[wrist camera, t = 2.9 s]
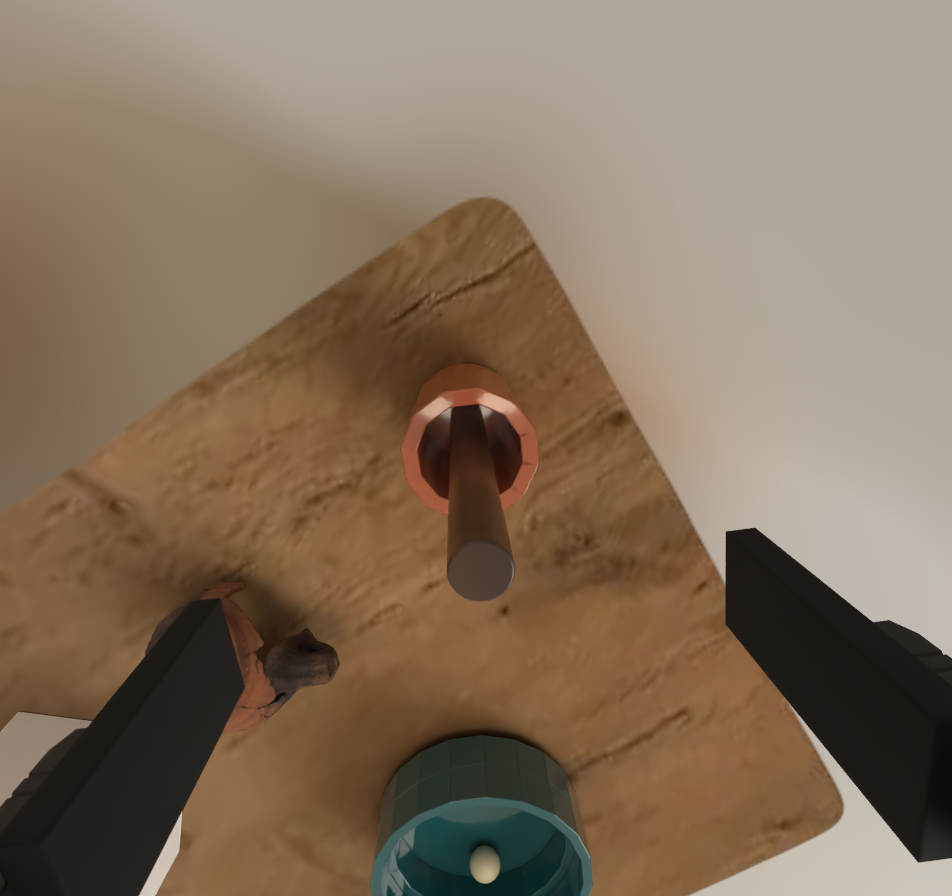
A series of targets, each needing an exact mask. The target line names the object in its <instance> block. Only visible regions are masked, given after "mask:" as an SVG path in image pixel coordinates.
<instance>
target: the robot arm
mask: <svg viewBox="0 0 952 896" xmlns="http://www.w3.org/2000/svg"><path fill="white" fill-rule="evenodd" d="M726 625H727V626H728V628H729V629H730V630H731V631H732V633H733V634H734V635H735V636H736V638H737V639H738V640H739V641H740V643H741V644H742V645H743V646H744V648H745V649H746V650H747V651H748V652H749V654H750V655H751V656H752V657H753V659H754V660H755V661H756V662H757V664H758V665H759V666H760V667H761V669H762V670H763V671H764V672H765V673H766V675H767V676H768V677H769V678H770V680H771V681H772V682H773V683H774V685H775V686H776V687H777V688H778V690H779V691H780V692H781V693H782V695H783V696H784V697H785V698H786V699H787V701H788V702H789V703H790V704H791V706H792V707H793V708H794V709H795V711H796V712H797V713H798V714H799V716H800V717H801V718H802V719H803V721H804V722H805V723H806V724H807V725H808V727H809V728H810V729H811V730H812V732H813V733H814V734H815V735H816V736H817V738H818V739H819V740H820V741H821V743H822V744H823V745H824V747H825V748H826V749H827V750H828V751H829V752H830V754H831V755H832V756H833V758H834V759H835V760H836V761H837V763H838V764H839V765H840V766H841V767H842V768H843V770H844V771H845V772H846V773H847V775H848V776H849V777H850V779H851V780H852V781H853V782H854V784H855V785H856V786H857V787H858V789H859V790H860V791H861V792H862V794H863V795H864V796H865V797H866V798H867V800H868V801H869V802H870V803H871V805H872V806H873V807H874V808H875V810H876V811H877V812H878V813H879V815H880V816H881V817H882V818H883V820H884V821H885V822H886V823H887V824H888V826H889V827H890V828H891V829H892V831H893V832H894V833H895V834H896V835H897V837H898V838H899V839H900V841H901V842H902V843H903V844H904V846H905V847H906V848H907V849H908V850H909V852H910V853H911V854H912V855H913V857H914V858H915V859H916V860H917V862H926V861H933V860H941V859H948V858H952V658H950V657H949V656H948V655H943V653H942V651H941V650H940V649H938V648H937V647H936V646H934V645H933V644H932V643H930V642H929V641H928V640H926V639H925V638H924V637H922V636H921V635H920V634H918V633H916V632H914V631H912V630H909V629H907V628H905V627H903V626H901V625H898V624H896V623H894V622H892V621H890V620H887V621H880V622H872V621H871V620H869V619H868V618H867V617H866V616H864V615H863V614H862V613H861V612H860V611H858V610H857V609H856V608H855V607H853V606H852V605H851V604H850V603H848V602H847V601H846V600H845V599H843V598H842V597H840V595H838V594H837V593H836V592H835V591H833V590H832V589H831V588H829V587H828V586H827V585H826V584H824V583H823V582H822V581H821V580H820V579H818V578H817V577H816V576H815V575H813V574H812V573H811V572H810V571H808V570H807V569H806V568H805V567H803V566H802V565H801V564H800V563H798V562H797V561H796V560H795V559H793V558H792V557H791V556H790V555H788V554H787V553H786V552H785V551H783V550H782V549H781V548H780V547H778V546H777V545H776V544H775V543H773V542H772V541H771V540H770V539H768V538H767V537H766V536H765V535H763V534H762V533H761V532H760V531H758V530H757V529H756V528H751V529H742V530H735V531H727V532H726ZM244 689H245V684H244V681H243V677H242V674H241V670H240V666H239V663H238V659H237V656H236V652H235V649H234V645H233V642H232V638H231V634H230V631H229V627H228V624H227V620H226V617H225V613H224V609H223V606H222V602H221V599H220V598H212V599H204V600H197V601H190V602H189V604H188V605H187V606H186V607H185V609H184V610H183V611H182V612H181V613H180V615H179V616H178V617H177V618H176V620H175V621H174V622H173V623H172V624H171V626H170V627H169V628H168V629H167V631H166V632H165V633H164V634H163V635H162V637H161V638H160V639H159V640H158V642H157V643H156V644H155V645H154V646H153V648H152V649H151V650H150V651H149V653H148V654H147V655H146V656H145V657H144V659H143V660H142V661H141V662H140V663H139V665H138V666H137V667H136V668H135V670H134V671H133V672H132V673H131V674H130V676H129V677H128V678H127V679H126V681H125V682H124V683H123V684H122V685H121V687H120V688H119V689H118V690H117V692H116V693H115V694H114V695H113V696H112V698H111V699H110V700H109V701H108V703H107V704H106V705H105V706H104V707H103V709H102V710H101V711H100V712H99V714H98V715H97V716H96V717H95V718H94V720H93V721H92V722H91V723H90V725H89V726H88V727H87V728H80V729H75V730H74V731H73V732H71V733H70V734H69V735H68V736H66V737H65V738H64V739H63V740H61V741H60V742H59V743H57V744H56V745H55V746H54V747H52V748H51V749H50V750H48V752H47V753H46V754H45V755H44V756H43V757H42V759H41V760H40V761H39V762H38V763H37V764H36V766H35V767H34V768H33V769H32V770H31V771H30V773H29V776H28V778H24V780H23V781H22V782H21V783H20V784H19V785H18V786H17V788H16V789H15V790H14V791H13V792H12V796H11V798H7V799H6V800H5V802H4V803H3V804H2V805H1V806H0V896H139V895H140V893H141V891H142V889H143V887H144V885H145V883H146V881H147V879H148V877H149V875H150V873H151V871H152V869H153V868H154V866H155V864H156V862H157V860H158V858H159V856H160V854H161V852H162V850H163V848H164V846H165V844H166V842H167V840H168V838H169V836H170V834H171V832H172V830H173V828H174V826H175V824H176V822H177V820H178V818H179V816H180V814H181V812H182V811H183V809H184V807H185V805H186V803H187V801H188V799H189V797H190V795H191V793H192V791H193V789H194V787H195V785H196V783H197V781H198V779H199V777H200V775H201V773H202V771H203V769H204V767H205V765H206V763H207V761H208V759H209V757H210V756H211V754H212V752H213V750H214V748H215V746H216V744H217V742H218V740H219V738H220V736H221V734H222V732H223V730H224V728H225V726H226V724H227V722H228V720H229V718H230V716H231V714H232V712H233V710H234V708H235V706H236V704H237V702H238V700H239V699H240V697H241V695H242V693H243V691H244Z"/></svg>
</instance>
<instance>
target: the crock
mask: <svg viewBox="0 0 952 896" xmlns="http://www.w3.org/2000/svg"><path fill="white" fill-rule="evenodd" d="M474 404H475V405H477V406H478V407H479V408H480V410H481V412H482V416H483V420H484V425H485V429H486V434H487V439H488V443H489V448H490V453H491V457H492V462H493V467H494V471H495V476H496V480H497V485H498V490H499V494H500V499H501V504H502V508H503V510H504V509H506V508H507V507H508V506H510V505H511V504H513V503H514V502H516V501H517V500H518V499H520V498H521V497H523V495H524V494H525V492H526V490H527V488H528V486H529V484H530V482H531V480H532V478H533V476H534V474H535V472H536V469H537V467H538V464H539V460H538V450H537V439H536V431H535V428H534V427H533V425H532V423H531V421H530V419H529V418H528V416H527V414H526V412H525V410H524V409H523V407H522V405H521V403H520V401H519V400H518V398H517V396H516V395H515V393H514V392H513V391H512V389H511V388H510V386H509V385H508V384H507V382H506V381H505V380H504V378H503V377H502V376H501V375H500V374H498V373H496V372H494V371H493V370H491V369H489V368H486V367H483V366H481V365H477V364H457V365H452V366H449V367H446V368H444V369H442V370H440V371H439V372H437V373H436V374H434V375H433V376H432V377H431V378H430V379H429V380H428V381H427V382H425V383H424V384H423V386H422V388H421V390H420V393H419V395H418V398H417V400H416V403H415V405H414V408H413V410H412V413H411V416H410V419H409V422H408V425H407V428H406V432H405V435H404V438H403V441H402V444H401V454H402V460H403V466H404V472H405V478H406V481H407V483H408V484H409V486H410V487H411V488H412V489H413V490H414V491H415V493H416V494H417V495H418V496H419V497H420V499H421V500H422V501H423V502H424V503H425V505H426V506H427V507H429V508H431V509H433V510H436V511H438V512H441V513H444V514H446V515H448V504H449V464H450V425H451V413H452V410H453V409H454V408H455V407H458V406H466V405H474Z"/></svg>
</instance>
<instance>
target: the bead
mask: <svg viewBox="0 0 952 896" xmlns="http://www.w3.org/2000/svg"><path fill="white" fill-rule="evenodd" d="M470 870H471V873H472V875H473V877H474V878H475V879H476V880H477V881H478V882H480V883H484V884H486V883H490V882H492V881H493V880H495V878H496V877H497V876H498V874H499V871H500V859H499V856H498V854H497V852H496V851H495V850H494V849H493V848H492V847H490V846H480V847H478V848H477V849H476V850H475V851H474V852H473V853H472V855H471V858H470Z"/></svg>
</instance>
